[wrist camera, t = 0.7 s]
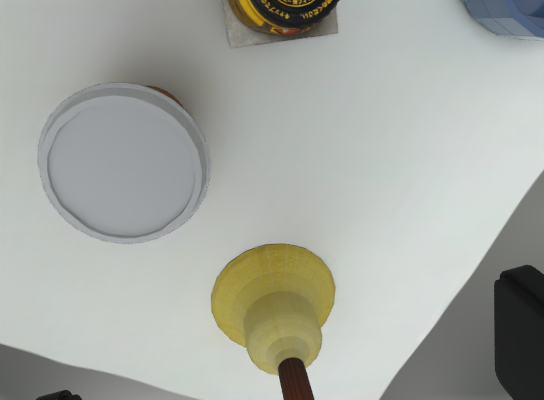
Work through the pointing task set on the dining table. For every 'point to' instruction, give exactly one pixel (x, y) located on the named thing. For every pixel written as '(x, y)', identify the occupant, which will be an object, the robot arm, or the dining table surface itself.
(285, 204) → the dining table surface
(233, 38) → the condiment
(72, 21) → the dining table surface
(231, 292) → the handbell
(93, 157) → the disposable coffee cup
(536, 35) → the bowl
